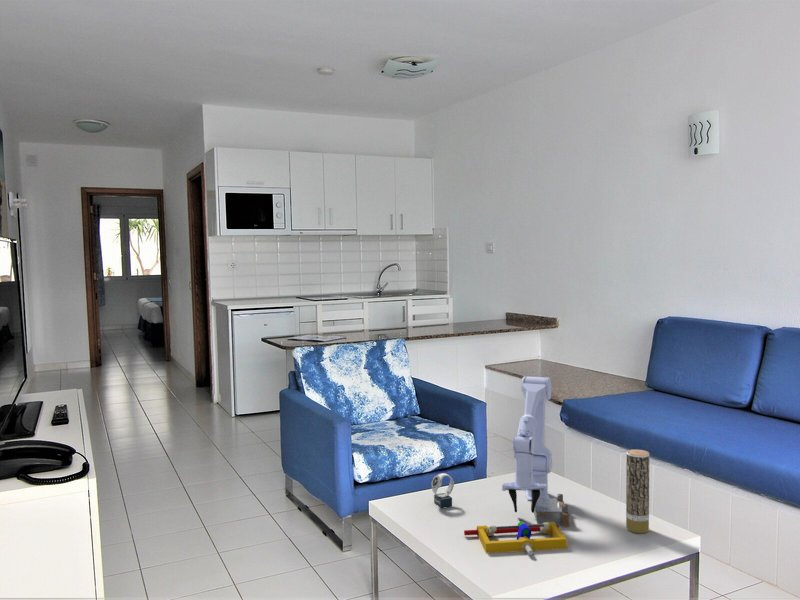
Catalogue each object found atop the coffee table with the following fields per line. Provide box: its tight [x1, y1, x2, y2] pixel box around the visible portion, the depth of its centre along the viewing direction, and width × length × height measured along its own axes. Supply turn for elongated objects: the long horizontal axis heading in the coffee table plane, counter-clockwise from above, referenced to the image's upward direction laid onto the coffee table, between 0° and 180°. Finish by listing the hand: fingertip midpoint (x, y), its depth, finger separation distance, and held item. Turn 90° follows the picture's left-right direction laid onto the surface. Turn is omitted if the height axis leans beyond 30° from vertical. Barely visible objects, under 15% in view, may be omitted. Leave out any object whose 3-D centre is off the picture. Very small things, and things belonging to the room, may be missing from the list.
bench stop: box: [555, 493, 570, 528], centre depth 224 cm, size 15×2×6 cm, turn 175°
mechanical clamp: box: [463, 520, 568, 556], centre depth 205 cm, size 18×6×30 cm
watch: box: [430, 472, 455, 509], centre depth 238 cm, size 6×8×11 cm
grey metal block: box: [533, 497, 562, 525], centre depth 226 cm, size 12×8×4 cm, turn 175°
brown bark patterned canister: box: [625, 448, 650, 534], centre depth 213 cm, size 7×7×25 cm
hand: (524, 511), depth 226 cm, fingers open, 5 cm apart
